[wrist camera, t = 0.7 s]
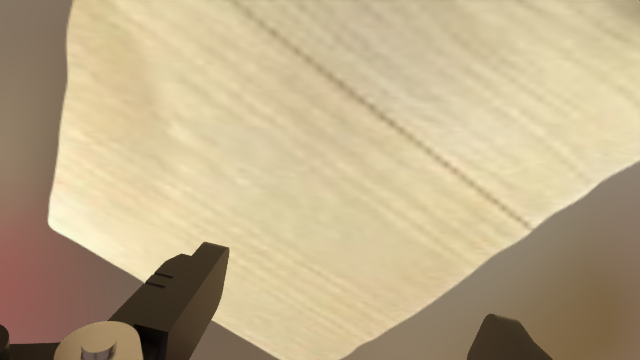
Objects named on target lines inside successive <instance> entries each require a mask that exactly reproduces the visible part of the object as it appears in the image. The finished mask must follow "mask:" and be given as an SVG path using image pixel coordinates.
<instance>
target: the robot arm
mask: <svg viewBox="0 0 640 360" xmlns="http://www.w3.org/2000/svg"><path fill="white" fill-rule="evenodd" d="M228 258H229V248H228V247H224V246H220V245H216V244H212V243H208V242H203V243H202V244H201V246H200V247H199V248H198V249H197V250H196V252H195V253H194V254H193V255H192V256H189V255H185V254H180V255H177V256H175V257H173V258H171V259H169V260H167V261H165V262H164V263H163V264H162V265H161V266H160V267H159V268H158V269H157V270H156V271H155V273H154V275H152V276H151V277H150V278H149V279H148V280H147V281H146V283H145V284H143V285H142V286H141V287H140V288H139V289H138V290H137V291H136V292H135V293H134V294H133V295H132V296H131V297H130V298H129V299H128V300H127V301H126V302H125V303H124V304H123V305H122V306H121V307H120V308H119V309H118V310H117V312H116V313H115V314H114V315H113V316H112V317H111V318H110V319H109V320H108V321H104V322H97V323H93V324H90V325H87V326H84V327H82V328H80V329H78V330H76V331H74V332H73V333H71V334H70V335H69V336H67V337H66V338H65V339H64V340H63V341H62V342H59V343H38V344H9V333H8V331H7V329H6V328H5V327H4V326H2V325H0V360H189V359H190V357H191V355H192V353H193V351H194V350H195V348H196V346H197V344H198V343H199V341H200V339H201V337H202V335H203V333H204V331H205V330H206V328H207V326H208V324H209V323H210V321H211V319H212V317H213V315H214V314H215V312H216V310H217V307H218V305H219V302H220V299H221V296H222V292H223V286H224V281H225V275H226V269H227V264H228ZM467 360H552V358H551V357H550V356H549V355H548V354H547V353H546V352H544V351H543V350H542V349H541V348H540V347H539V346H538V345H537V344H536V343H535V342H534V341H533V340H532V339H531V337H530V336H529V334H528V333H527V332H526V330H525V329H524V327H523V326H522V325H521V323H520V322H519V321H517V320H515V319H511V318H506V317H503V316H498V315H494V314H489V315H487V316H486V317H485V319H484V321H483V323H482V325H481V327H480V329H479V332H478V333H477V336H476V338H475V340H474V342H473V344H472V346H471V348H470V350H469V353H468V356H467Z"/></svg>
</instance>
